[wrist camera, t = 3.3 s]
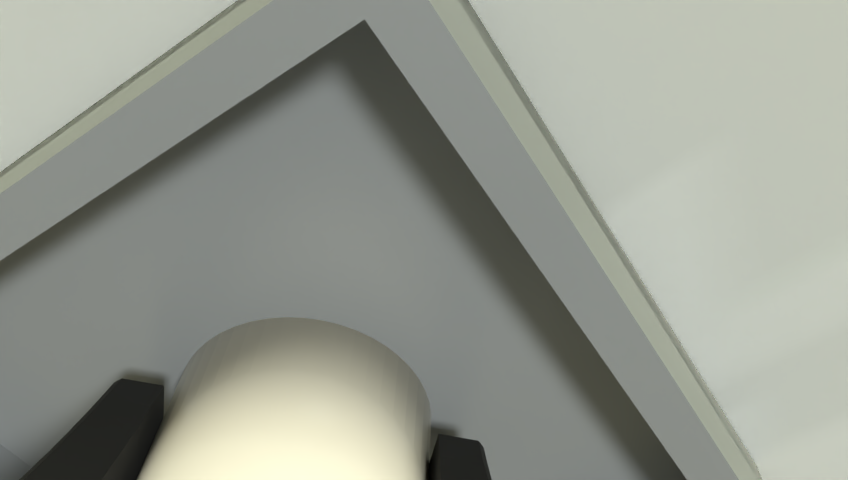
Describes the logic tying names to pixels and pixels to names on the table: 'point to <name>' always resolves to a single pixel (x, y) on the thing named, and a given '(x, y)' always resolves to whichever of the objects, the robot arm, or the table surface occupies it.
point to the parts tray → (345, 243)
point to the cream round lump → (293, 409)
